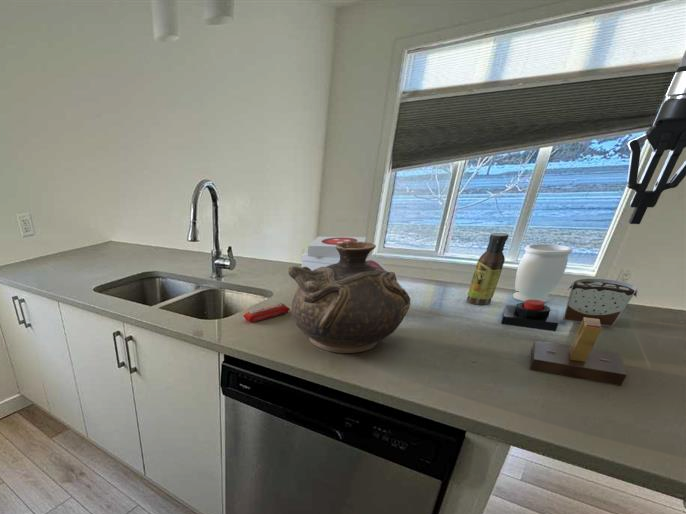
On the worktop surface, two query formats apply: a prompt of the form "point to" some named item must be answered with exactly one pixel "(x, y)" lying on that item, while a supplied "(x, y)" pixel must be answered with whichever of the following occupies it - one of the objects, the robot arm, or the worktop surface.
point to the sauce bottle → (488, 271)
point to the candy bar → (266, 312)
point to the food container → (598, 300)
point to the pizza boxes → (332, 253)
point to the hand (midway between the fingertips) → (634, 222)
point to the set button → (534, 304)
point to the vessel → (348, 301)
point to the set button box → (530, 317)
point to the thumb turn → (585, 339)
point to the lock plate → (578, 363)
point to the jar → (540, 271)
